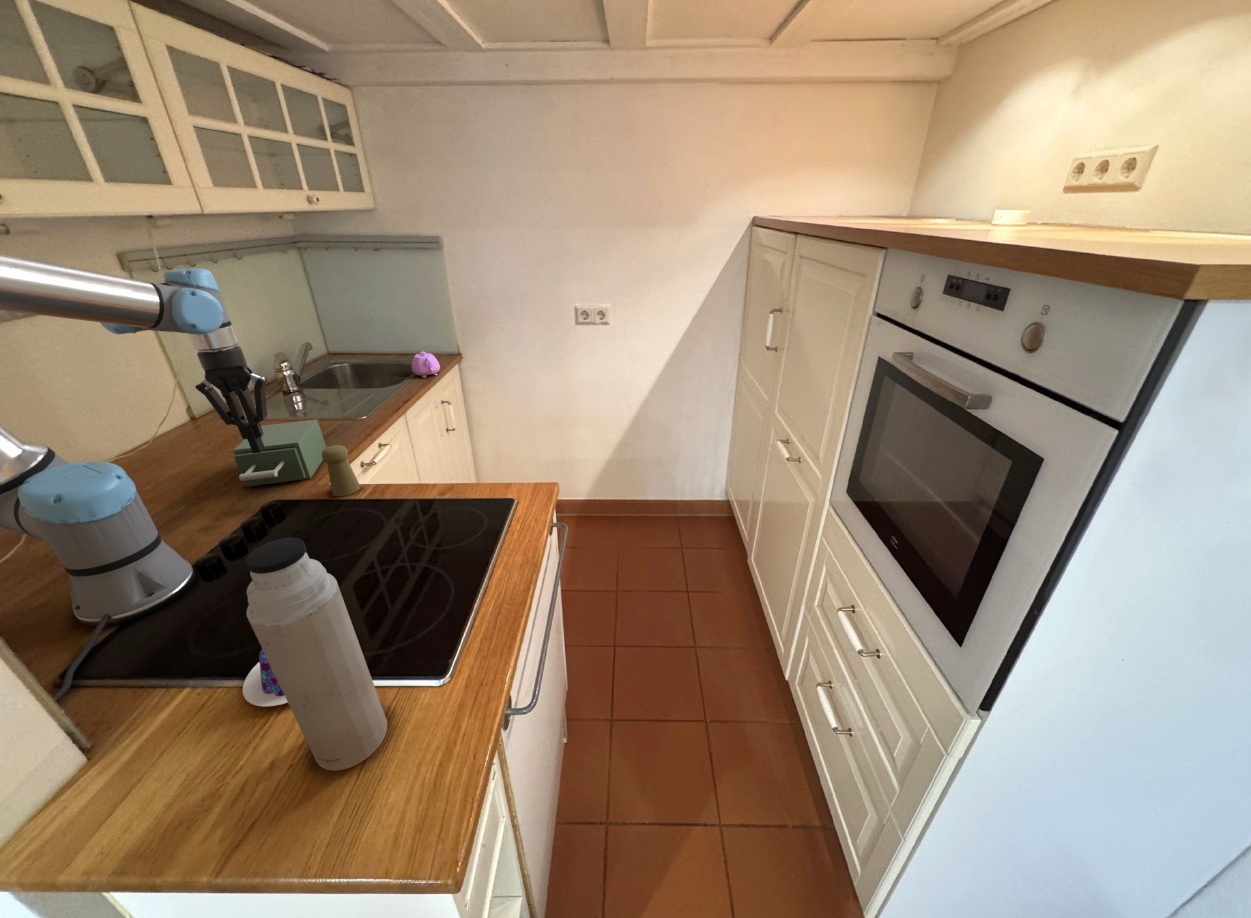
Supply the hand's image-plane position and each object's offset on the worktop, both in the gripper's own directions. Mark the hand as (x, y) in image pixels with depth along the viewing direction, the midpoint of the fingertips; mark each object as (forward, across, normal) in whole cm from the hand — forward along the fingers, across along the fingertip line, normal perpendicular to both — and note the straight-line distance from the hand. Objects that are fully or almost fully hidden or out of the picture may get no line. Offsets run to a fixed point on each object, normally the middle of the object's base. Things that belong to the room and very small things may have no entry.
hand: (259, 450), depth 114 cm
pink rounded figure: (+11, -26, -92) cm, 96 cm away
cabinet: (+10, 0, -12) cm, 16 cm away
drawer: (+9, 0, -6) cm, 11 cm away
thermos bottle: (+10, -33, +74) cm, 82 cm away
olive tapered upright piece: (+11, -17, +5) cm, 21 cm away
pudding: (+10, -23, +61) cm, 66 cm away
